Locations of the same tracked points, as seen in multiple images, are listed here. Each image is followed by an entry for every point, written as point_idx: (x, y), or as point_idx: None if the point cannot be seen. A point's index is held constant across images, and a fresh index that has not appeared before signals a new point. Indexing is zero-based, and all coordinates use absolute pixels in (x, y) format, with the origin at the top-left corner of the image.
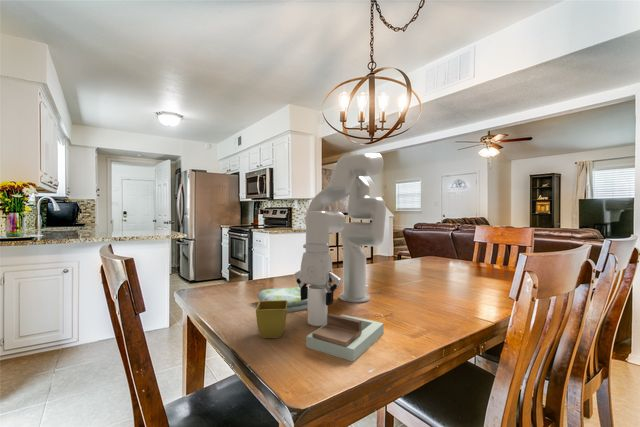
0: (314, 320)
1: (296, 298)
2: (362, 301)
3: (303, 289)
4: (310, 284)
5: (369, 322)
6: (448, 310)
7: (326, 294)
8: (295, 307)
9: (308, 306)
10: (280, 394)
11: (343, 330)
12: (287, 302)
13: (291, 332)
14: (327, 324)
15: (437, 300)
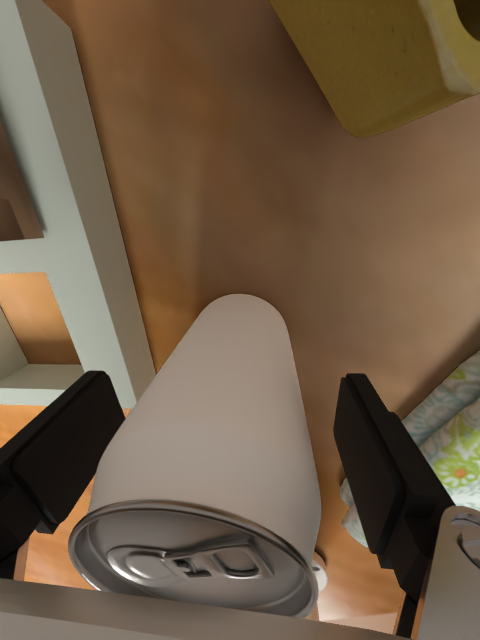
0: (219, 304)
1: (477, 474)
2: None
3: (386, 487)
4: (175, 609)
5: (1, 387)
6: (32, 553)
7: (18, 446)
8: (436, 414)
9: (261, 340)
10: None
11: None
12: (422, 44)
13: (277, 152)
14: (3, 197)
15: None
